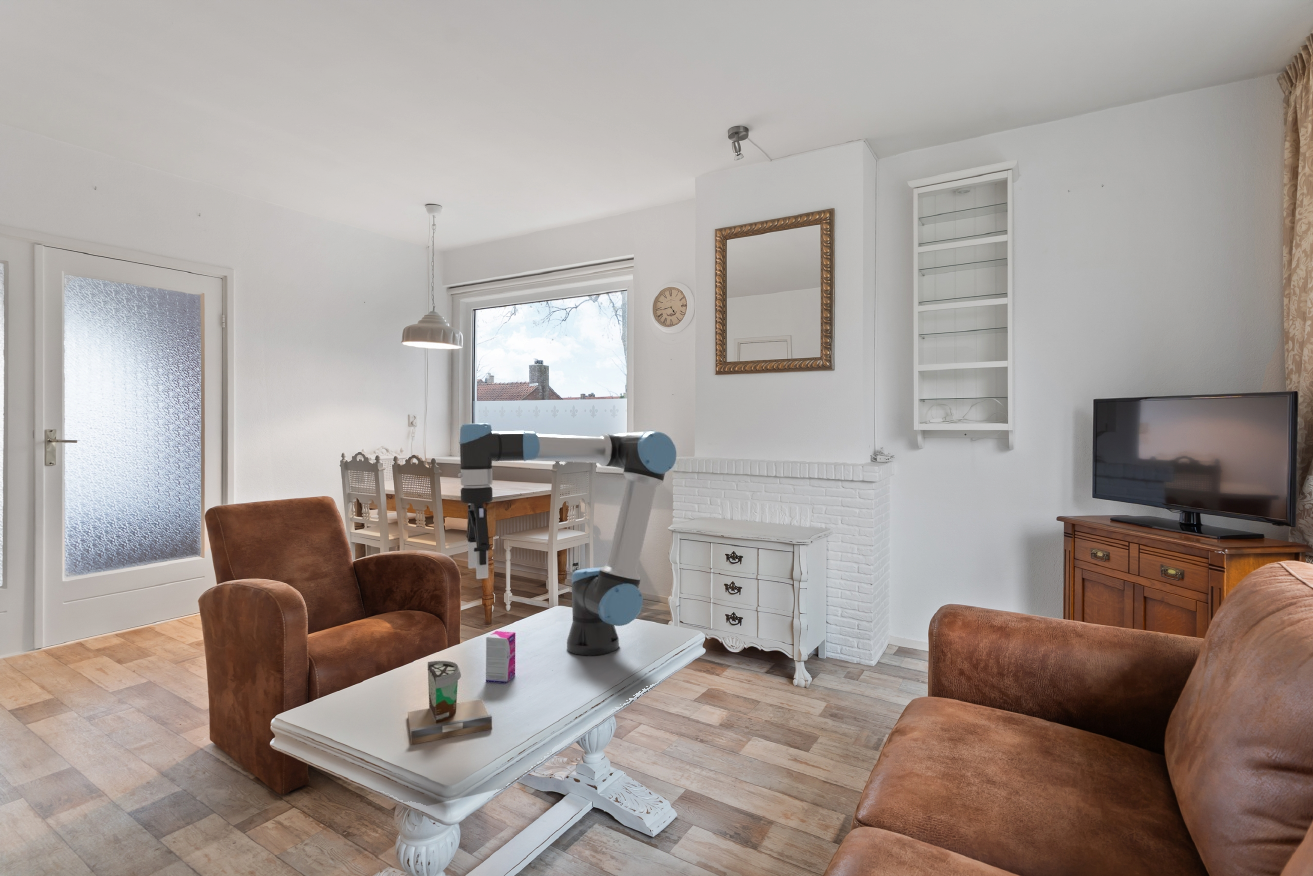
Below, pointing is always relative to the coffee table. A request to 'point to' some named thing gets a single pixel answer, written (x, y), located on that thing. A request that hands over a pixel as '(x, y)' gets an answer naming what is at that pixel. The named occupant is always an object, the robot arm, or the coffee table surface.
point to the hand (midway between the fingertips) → (478, 573)
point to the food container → (443, 689)
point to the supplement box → (500, 657)
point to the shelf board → (449, 722)
